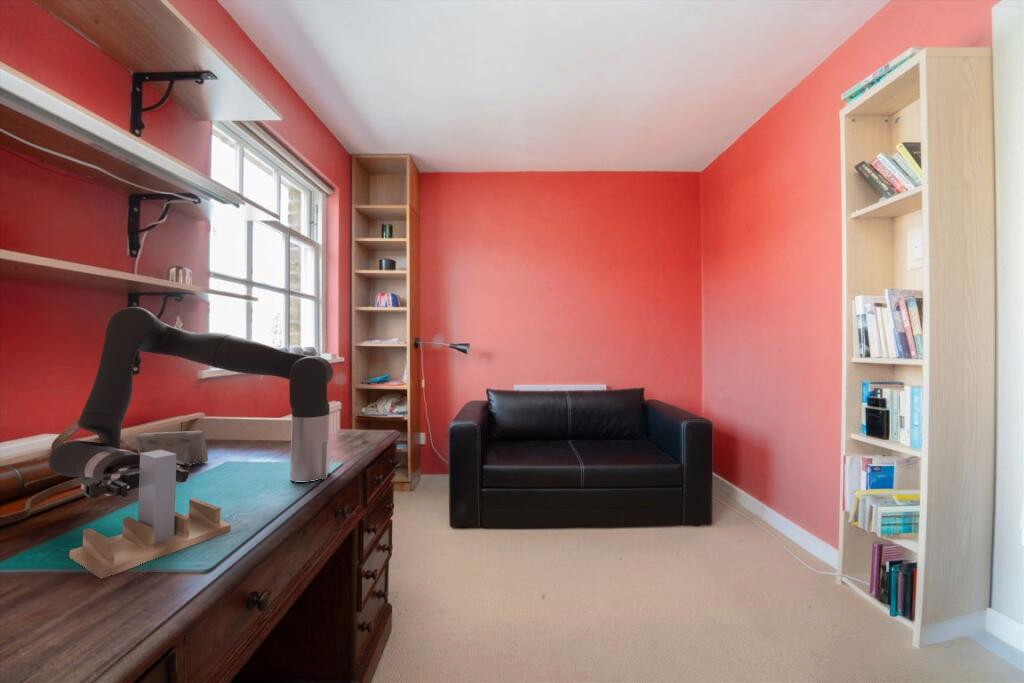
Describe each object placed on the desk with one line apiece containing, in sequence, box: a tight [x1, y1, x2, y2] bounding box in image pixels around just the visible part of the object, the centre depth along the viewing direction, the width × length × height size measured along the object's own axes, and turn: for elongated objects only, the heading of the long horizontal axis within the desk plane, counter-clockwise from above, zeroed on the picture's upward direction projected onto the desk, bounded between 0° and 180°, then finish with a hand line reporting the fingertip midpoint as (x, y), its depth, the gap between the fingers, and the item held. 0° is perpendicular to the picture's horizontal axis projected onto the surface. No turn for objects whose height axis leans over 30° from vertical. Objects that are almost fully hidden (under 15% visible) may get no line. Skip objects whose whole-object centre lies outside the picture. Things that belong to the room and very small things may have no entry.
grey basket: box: [135, 430, 209, 465], centre depth 113 cm, size 16×9×11 cm, turn 98°
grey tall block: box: [137, 450, 177, 543], centre depth 70 cm, size 3×6×15 cm, turn 63°
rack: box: [69, 497, 231, 579], centre depth 70 cm, size 18×13×4 cm
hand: (156, 483), depth 70 cm, fingers open, 8 cm apart
